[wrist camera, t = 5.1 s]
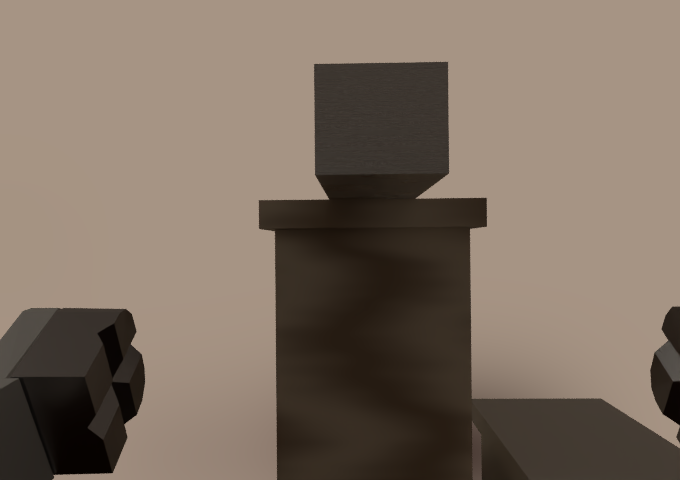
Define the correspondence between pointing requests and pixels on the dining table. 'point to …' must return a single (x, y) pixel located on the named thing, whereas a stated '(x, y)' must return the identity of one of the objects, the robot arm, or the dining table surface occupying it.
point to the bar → (381, 129)
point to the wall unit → (373, 337)
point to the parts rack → (569, 442)
